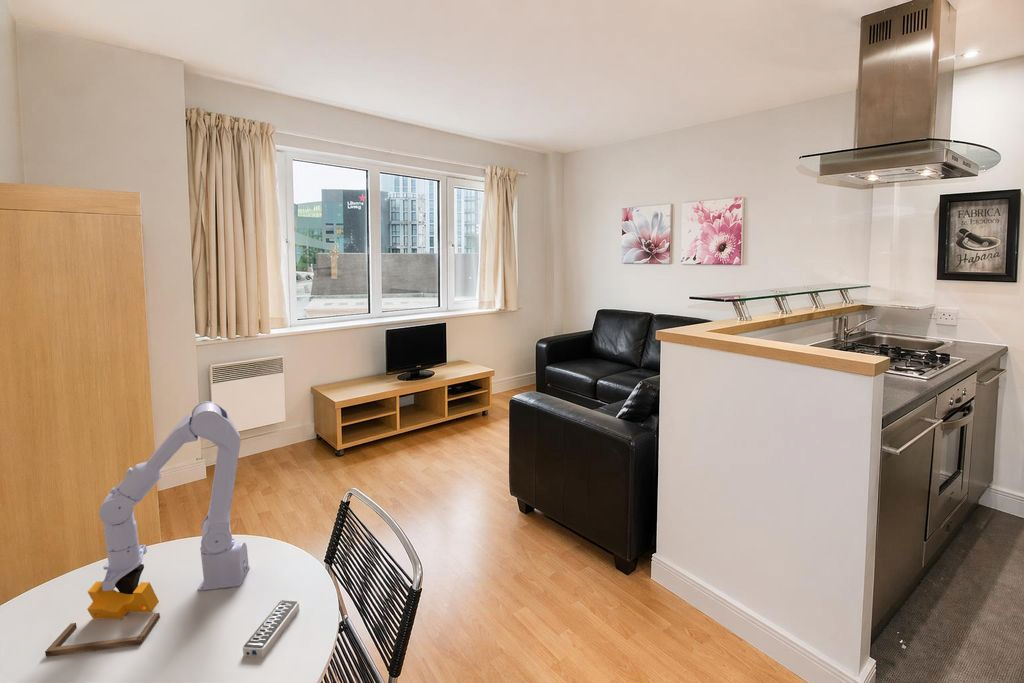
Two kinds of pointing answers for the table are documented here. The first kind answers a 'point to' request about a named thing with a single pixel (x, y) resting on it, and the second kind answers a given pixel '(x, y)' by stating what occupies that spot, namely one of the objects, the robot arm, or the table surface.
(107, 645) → the bay
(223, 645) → the table surface
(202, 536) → the robot arm
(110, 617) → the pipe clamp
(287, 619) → the multiport hub
